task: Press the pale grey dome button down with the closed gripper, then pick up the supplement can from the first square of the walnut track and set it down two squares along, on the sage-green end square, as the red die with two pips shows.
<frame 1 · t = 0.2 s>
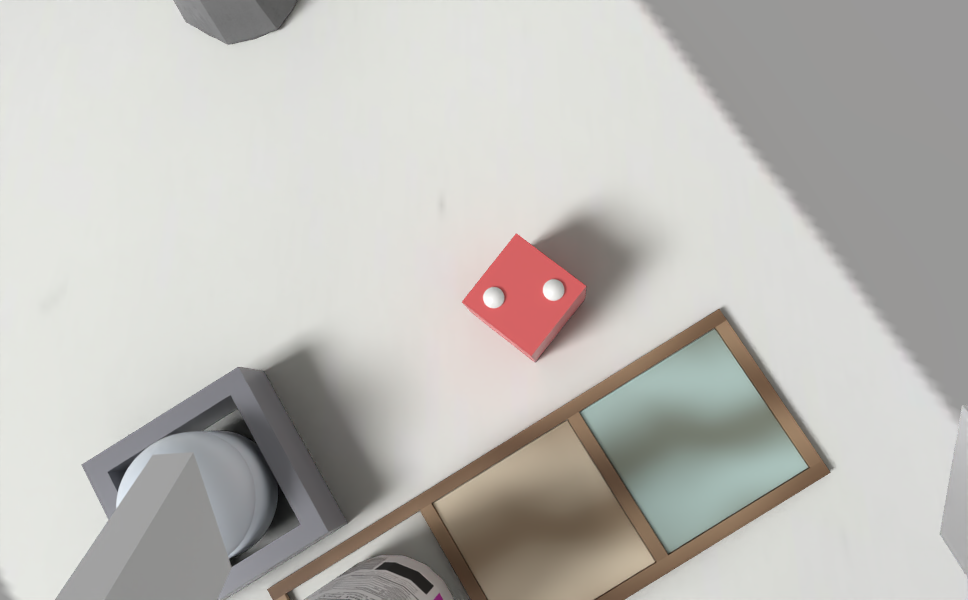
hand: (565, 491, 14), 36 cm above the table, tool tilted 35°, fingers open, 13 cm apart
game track: (541, 531, 49), on the table
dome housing: (230, 491, 51), on the table
red die: (528, 306, 51), on the table
dome button: (190, 500, 46), point 5 cm above the table, slide at 0.0 cm
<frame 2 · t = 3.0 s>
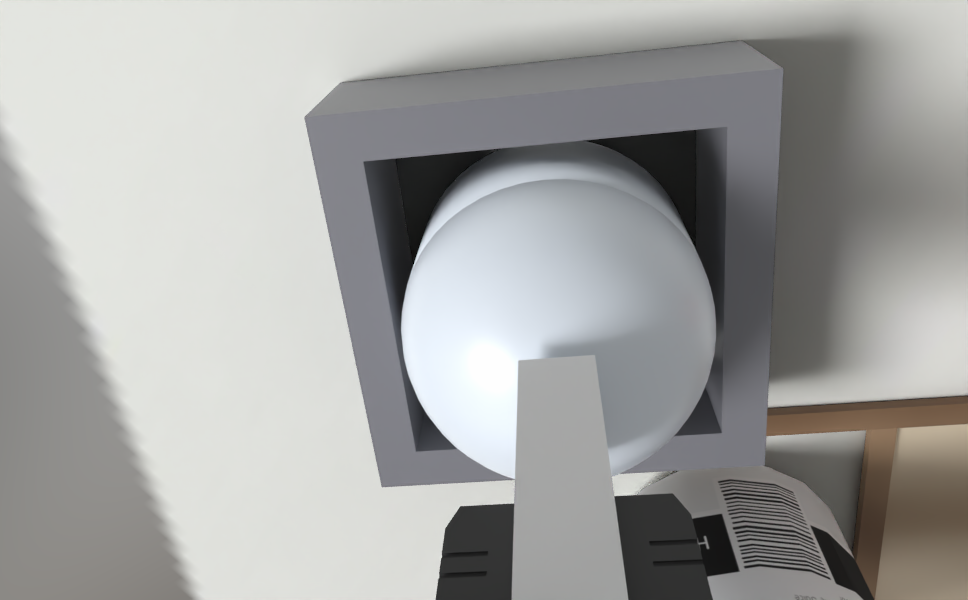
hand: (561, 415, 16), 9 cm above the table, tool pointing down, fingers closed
supplement can: (714, 538, 30), resting on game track
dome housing: (551, 247, 25), on the table
dome button: (556, 327, 20), point 5 cm above the table, slide at 0.4 cm, touching gripper
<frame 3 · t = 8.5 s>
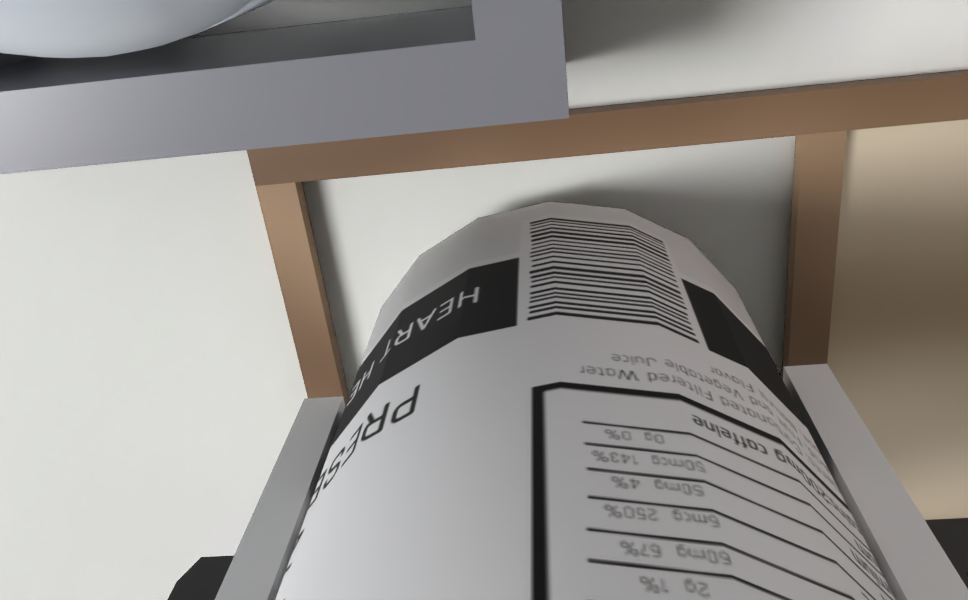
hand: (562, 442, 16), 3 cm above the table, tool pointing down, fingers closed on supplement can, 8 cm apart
supplement can: (558, 361, 18), resting on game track, touching gripper
when the fingers open (4 cm above the table, at t = 15.6 s): supplement can drops 1 cm, resting on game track.
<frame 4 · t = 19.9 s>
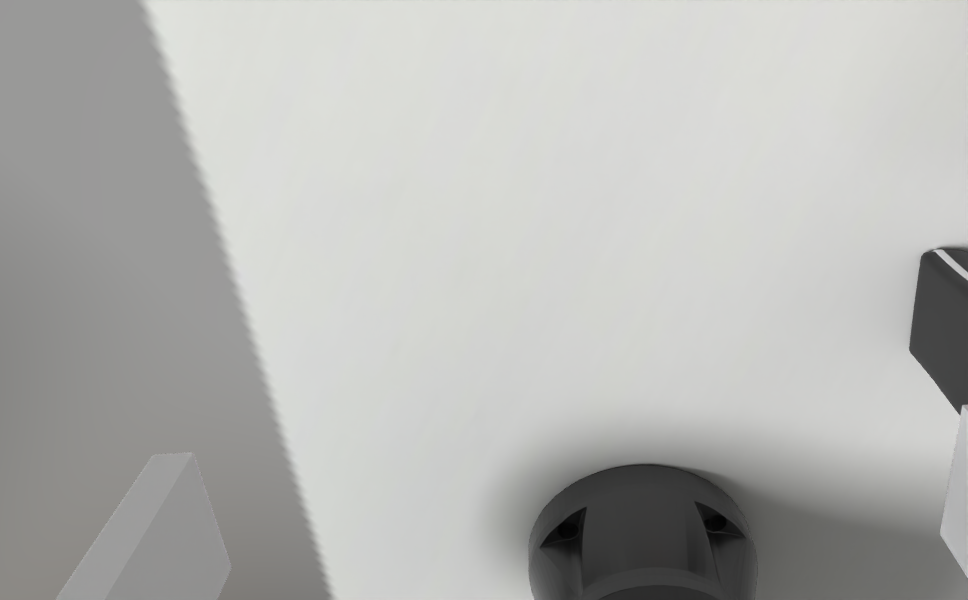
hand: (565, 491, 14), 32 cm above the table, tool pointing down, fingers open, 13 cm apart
battery charger: (944, 297, 47), on the table
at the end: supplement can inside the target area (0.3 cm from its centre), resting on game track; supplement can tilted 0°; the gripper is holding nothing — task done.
